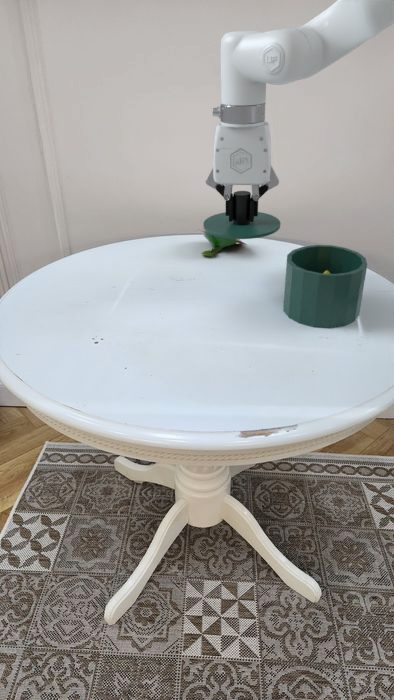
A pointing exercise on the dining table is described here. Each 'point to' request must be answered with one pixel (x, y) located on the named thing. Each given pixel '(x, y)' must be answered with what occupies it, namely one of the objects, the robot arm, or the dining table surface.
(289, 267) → the pot
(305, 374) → the dining table surface
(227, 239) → the green brown turtle figurine
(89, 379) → the dining table surface
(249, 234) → the lid
